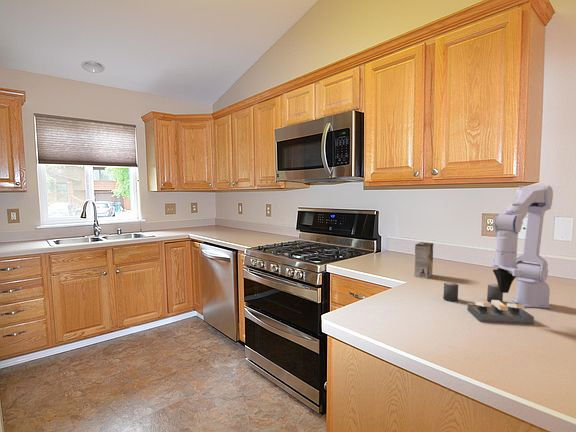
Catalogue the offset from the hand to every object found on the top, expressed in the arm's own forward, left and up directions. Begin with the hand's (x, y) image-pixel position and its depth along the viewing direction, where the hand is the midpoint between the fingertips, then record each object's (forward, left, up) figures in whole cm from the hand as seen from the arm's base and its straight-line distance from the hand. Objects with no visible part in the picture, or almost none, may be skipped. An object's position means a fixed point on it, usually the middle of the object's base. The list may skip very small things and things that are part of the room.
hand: (503, 292), depth 108 cm
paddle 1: (+5, -2, -5) cm, 8 cm away
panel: (0, -2, -9) cm, 10 cm away
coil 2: (-6, -18, -9) cm, 21 cm away
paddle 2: (-5, -2, -5) cm, 8 cm away
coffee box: (+11, -53, -10) cm, 55 cm away
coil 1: (+10, -18, -9) cm, 23 cm away
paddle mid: (0, -2, -5) cm, 6 cm away
